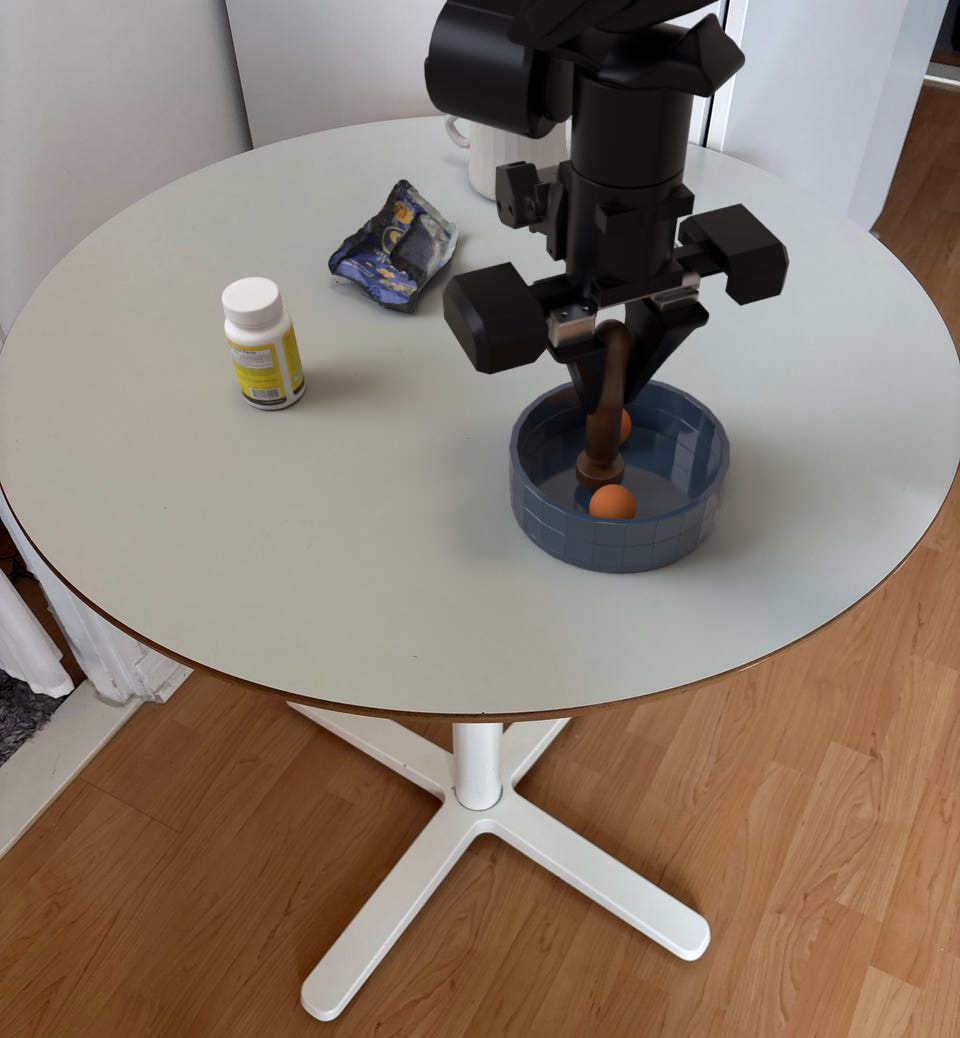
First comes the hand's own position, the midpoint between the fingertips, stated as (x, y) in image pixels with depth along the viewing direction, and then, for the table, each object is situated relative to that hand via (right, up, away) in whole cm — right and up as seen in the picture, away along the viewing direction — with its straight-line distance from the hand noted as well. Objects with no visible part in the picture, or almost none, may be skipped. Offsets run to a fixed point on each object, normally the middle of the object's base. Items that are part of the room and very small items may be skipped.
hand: (606, 405), depth 63 cm
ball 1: (+1, -6, +2) cm, 6 cm away
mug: (-6, +28, +31) cm, 42 cm away
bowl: (+1, -5, +6) cm, 8 cm away
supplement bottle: (-23, +4, +14) cm, 27 cm away
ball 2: (+1, 0, +7) cm, 7 cm away
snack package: (-14, +16, +22) cm, 31 cm away
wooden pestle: (0, -4, +5) cm, 6 cm away
